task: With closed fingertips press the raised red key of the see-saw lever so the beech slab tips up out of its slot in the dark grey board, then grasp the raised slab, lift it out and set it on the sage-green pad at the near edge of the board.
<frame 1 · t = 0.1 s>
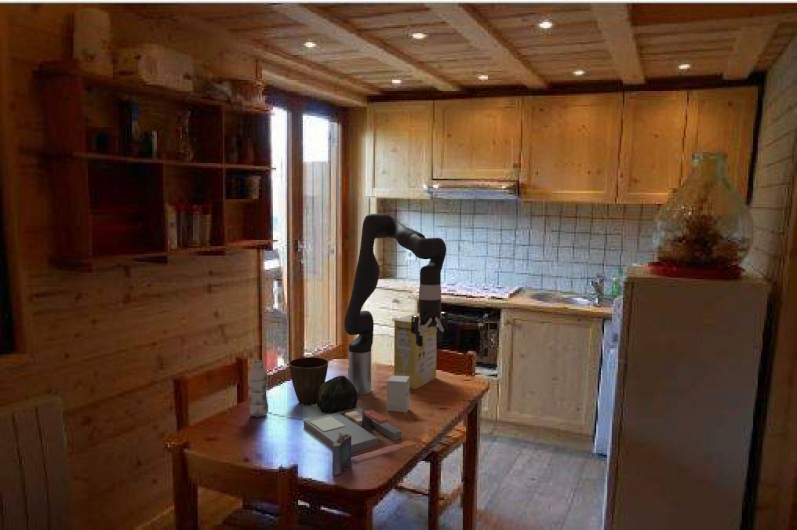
hand: (429, 344, 192), 29 cm above the table, fingers open, 8 cm apart
slab: (356, 424, 193), point 1 cm above the table, touching tip lever
squash: (337, 412, 208), on the table
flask: (341, 469, 164), on the table
plastic bottle: (259, 416, 204), on the table
pocket board: (351, 436, 186), on the table
plant pot: (309, 403, 218), on the table
tip lever: (365, 420, 188), point 5 cm above the table, hinge at 0.0°, touching slab
supplement box: (398, 411, 209), on the table
pasta box: (415, 381, 245), on the table
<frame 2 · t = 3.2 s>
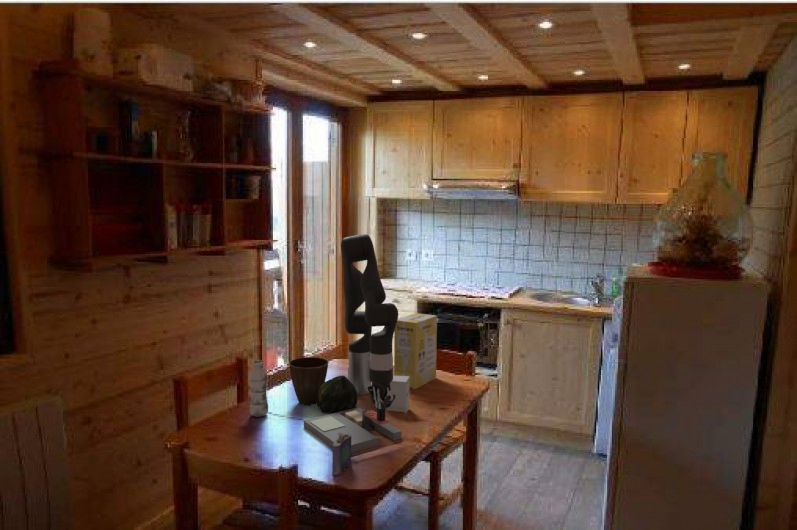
hand: (381, 418, 180), 8 cm above the table, fingers closed
tip lever: (365, 420, 188), point 5 cm above the table, hinge at 1.0°, touching gripper, slab
everything else where it was.
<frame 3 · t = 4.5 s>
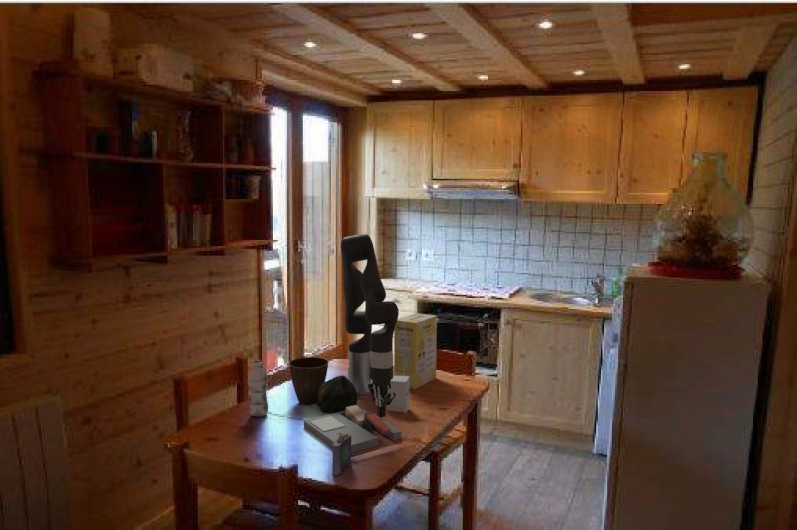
hand: (381, 416, 180), 9 cm above the table, fingers closed
slab: (356, 420, 193), point 3 cm above the table, tilted 14°, touching tip lever
tip lever: (366, 421, 188), point 5 cm above the table, hinge at 14.1°, touching slab
everything else where it was.
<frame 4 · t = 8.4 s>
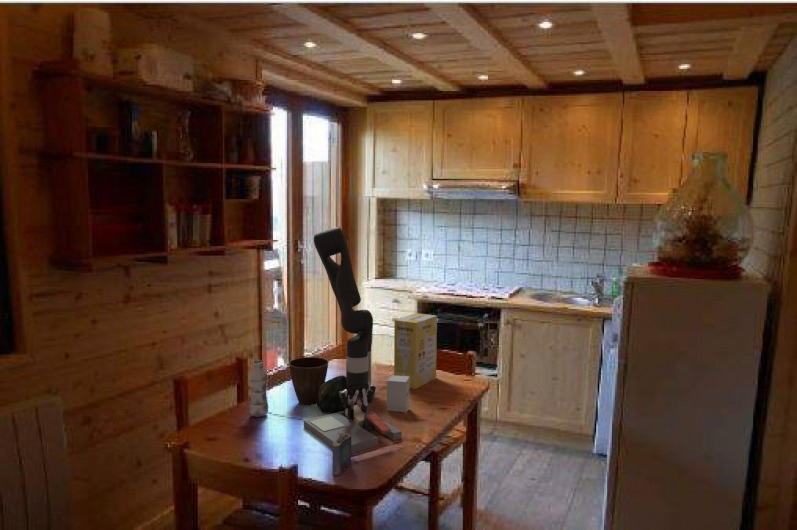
hand: (357, 417, 192), 4 cm above the table, fingers closed on slab, 4 cm apart
slab: (356, 420, 193), point 3 cm above the table, tilted 14°, touching gripper, tip lever
everything else where it was.
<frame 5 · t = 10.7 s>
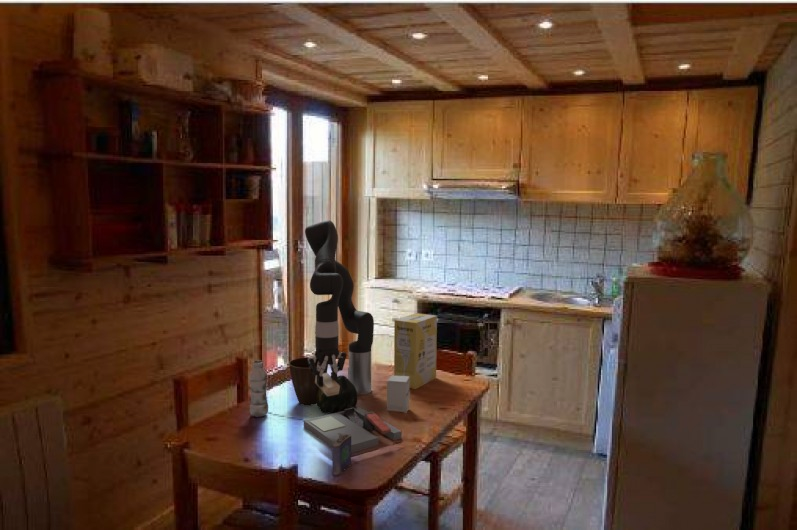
hand: (327, 384, 185), 17 cm above the table, fingers closed on slab, 4 cm apart
slab: (326, 388, 186), point 16 cm above the table, tilted 14°, touching gripper
tip lever: (366, 421, 188), point 5 cm above the table, hinge at 14.1°
everything else where it was.
when the fingers open (7 cm above the table, at t = 12.9 s): slab drops 2 cm, resting on pocket board.
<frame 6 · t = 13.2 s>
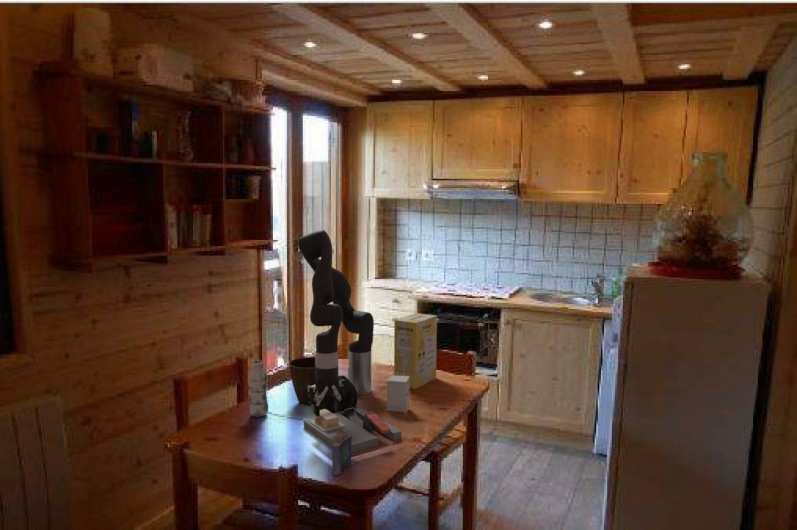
hand: (327, 413, 186), 8 cm above the table, fingers open, 6 cm apart
slab: (326, 422, 187), point 4 cm above the table, touching pocket board
everything else where it was.
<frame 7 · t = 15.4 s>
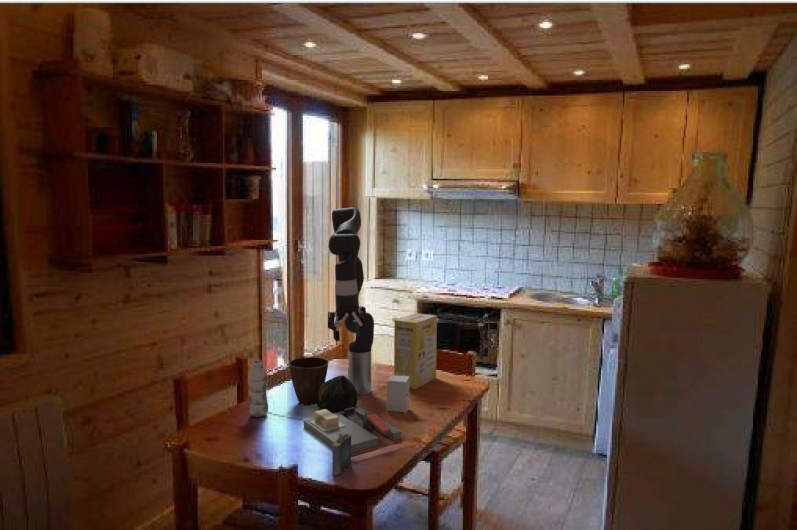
hand: (348, 338, 195), 30 cm above the table, fingers open, 8 cm apart
nothing on the table moved.
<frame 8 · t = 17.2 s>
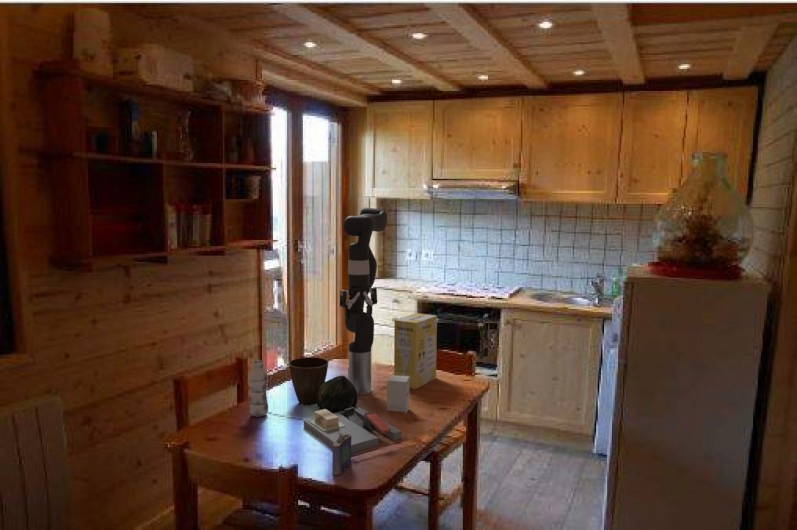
hand: (358, 317, 201), 36 cm above the table, fingers open, 8 cm apart
nothing on the table moved.
at the end: slab inside the target area on the pocket board (0.5 cm from its centre), point 4.1 cm above the pocket board's base; slab touching pocket board; the gripper is holding nothing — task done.
